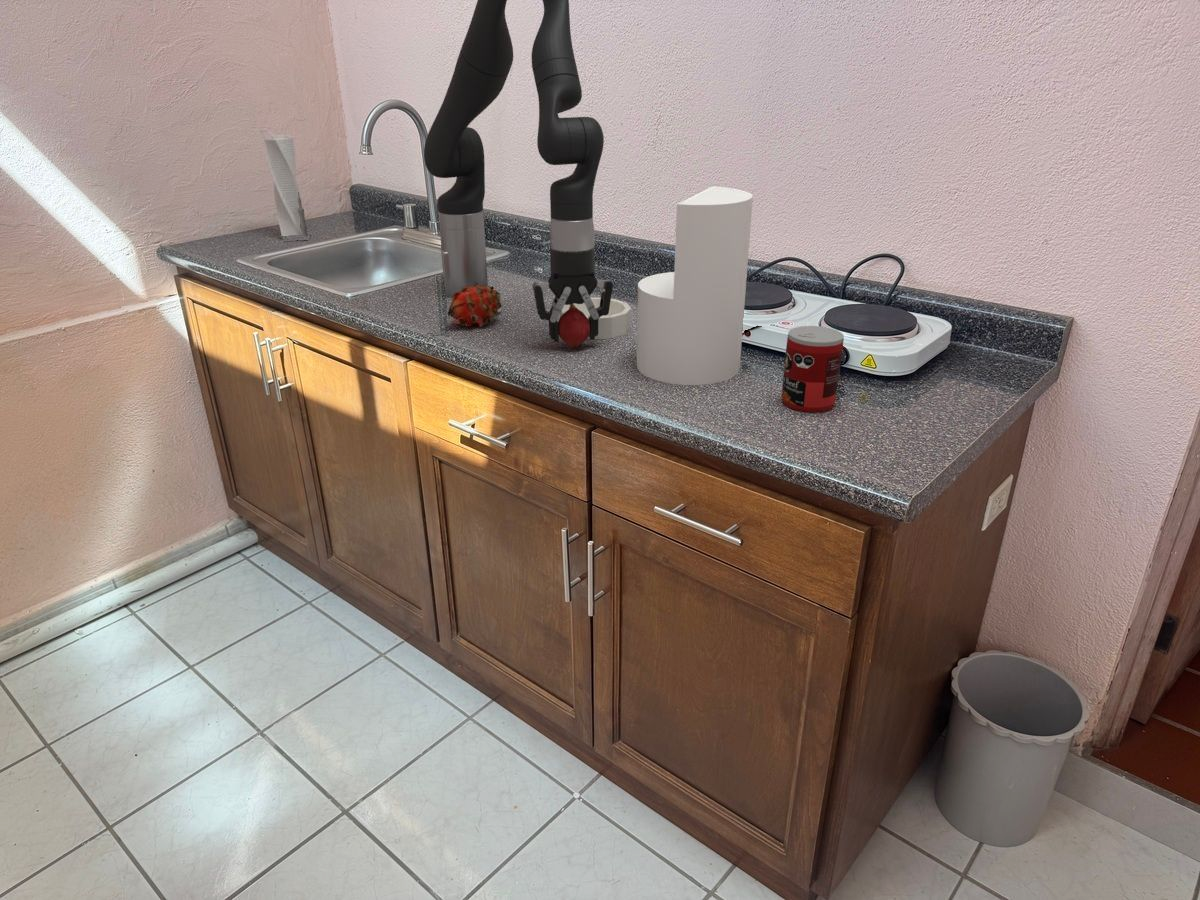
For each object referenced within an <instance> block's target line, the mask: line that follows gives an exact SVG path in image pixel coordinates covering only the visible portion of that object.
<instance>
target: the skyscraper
mask: <svg viewBox="0 0 1200 900" xmlns="http://www.w3.org/2000/svg"><path fill="white" fill-rule="evenodd" d="M259 131H260V135H261V136H262V141H263V147H264V150H265V156H266V159H267V163H268V166H269V171H270V173H271V177H272V180H273V192H274V193H273V194H274V200H275V201H274V203H275V209H276V214H277V219H278V224H279V229H280V235H281V237H282V236H289V235H290V236H291V235H302V236H308V234H309V233H308V225H307V223H306V218H305V208H304V207H303V202H302V198H301V193H300V189H299V186H298V183H297V180H296V173H297V171H296V153H295V143H294V137H293V136H292V135H291V134H290V135H288V134H287V133H286V134H284V133H282V134H273V132H272V131H270V130H268V129H264V128H263V129H260V130H259ZM264 132H265V133H269V134H270V135H271V138H265V136H264V134H263V133H264Z"/></svg>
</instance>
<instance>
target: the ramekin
mask: <svg viewBox="0 0 1200 900" xmlns="http://www.w3.org/2000/svg"><path fill="white" fill-rule="evenodd" d="M590 298H591V300H592V302H593V304H594V306H595V309H596V308H598V307H599V306H600V299H601V297H590ZM573 304H574V306H575V307H576V308H577V309H578V310H580V311H581V312H583V313H584V315H585V316H586V317H587V319H588V321H589V316H590V313H589V311H588V310H587V308H586V306H585V304H584V303H583V304H575V303H573ZM569 307H570V305H564V307H563V309H562V311H561V312H560V314H559V318H560V317H561V316H562V315H563V314H564V313H565V312H566V311H567V310H569ZM631 324H632V307H631V306H630V305H629V304H628V303H627V302H625V301H622V300H618V299H615V298H611V301H610V308H609V313H608V315H603V316H601V317H600V318H599V319H598V335H597V336H595V339H594V340H593V341H597V340H607V339H611V340H612V339H615V338H618V337H622V336H624V335H627V334H628V333H629V331H630V330H631V329H632V327H631V326H632V325H631ZM586 340H591V339H590V338H589V336H588V338H587V339H586Z"/></svg>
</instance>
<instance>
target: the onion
mask: <svg viewBox="0 0 1200 900" xmlns="http://www.w3.org/2000/svg"><path fill="white" fill-rule="evenodd" d="M557 321H558V334H559V337H560V339H561V340H562V341H563V343H565V344H566V345H568V347H570V348H572V349H576V348H578V346H580V345H582V344H583V343H584V342H585V341H587V340H588V339H587V338H588V336H589V334H590V323H589V321H588V319H587V317H586V316H585V315H584V313H583V312H581V311H580V310H578V309H577V308H576V307H575V306H574V304H570V307H569V310H567V311H566V312H565V313H564V314H563V315H562V316H561V317H560V316H559V319H558V320H557Z"/></svg>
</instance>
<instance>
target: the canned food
mask: <svg viewBox="0 0 1200 900" xmlns="http://www.w3.org/2000/svg"><path fill="white" fill-rule="evenodd" d="M844 336H845V335H844V334H843V333H842V332H841V331H839V330H837V329H834V328H831V327H827V326H820V325H803V326H796V327H793V328H791V329H789V330H788V332H787V339H786V347H785V348H786V349H785V356H784V357H785V358H784V369H783V379H782V387H781V389H782V390H781V398H782V399H781V400H782V403H783V404H784V405H785V406H786V407H788V408H789V409H793V410H795V411H799V412H806V413H820V412H826V411H828V410H831V409H832V408H833V407H834V405H835V403H836V400H837V399H836V398H837V391H838V385H839V380H840V379H839V378H840V370H841V365H842V356H843V355H842V354H843V349H844V339H845V338H844Z"/></svg>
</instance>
